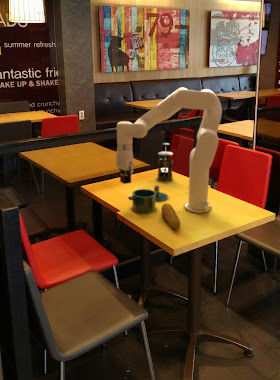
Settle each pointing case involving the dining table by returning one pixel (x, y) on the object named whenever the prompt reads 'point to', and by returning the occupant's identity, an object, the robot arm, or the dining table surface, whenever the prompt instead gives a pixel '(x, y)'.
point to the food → (170, 215)
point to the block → (122, 178)
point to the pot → (143, 200)
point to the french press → (165, 173)
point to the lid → (160, 195)
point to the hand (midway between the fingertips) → (125, 181)
